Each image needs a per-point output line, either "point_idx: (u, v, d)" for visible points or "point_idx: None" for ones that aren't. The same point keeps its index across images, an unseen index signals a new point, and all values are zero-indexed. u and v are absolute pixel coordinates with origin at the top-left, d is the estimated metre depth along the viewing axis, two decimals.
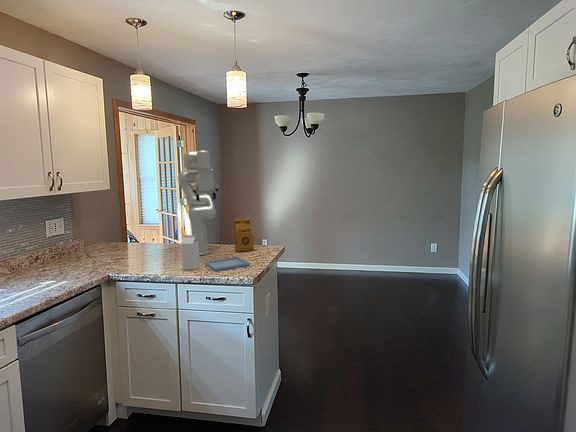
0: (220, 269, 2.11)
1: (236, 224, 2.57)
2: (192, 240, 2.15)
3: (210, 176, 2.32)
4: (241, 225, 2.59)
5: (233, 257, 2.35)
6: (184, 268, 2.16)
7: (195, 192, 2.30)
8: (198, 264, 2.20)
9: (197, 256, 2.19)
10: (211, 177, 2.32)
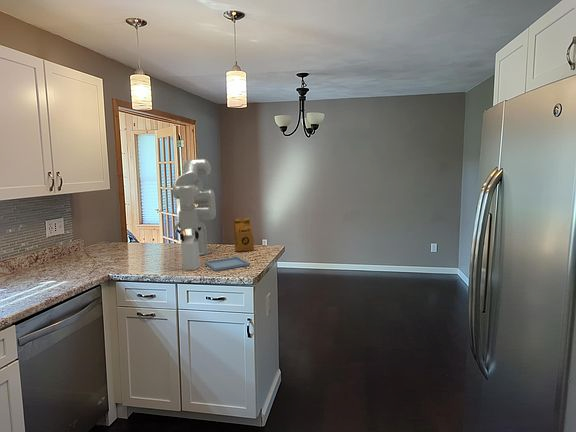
0: (220, 269, 2.11)
1: (236, 224, 2.57)
2: (192, 240, 2.15)
3: (194, 213, 2.15)
4: (241, 225, 2.59)
5: (233, 257, 2.35)
6: (184, 268, 2.16)
7: (179, 232, 2.14)
8: (198, 263, 2.20)
9: (197, 256, 2.19)
10: (195, 214, 2.15)
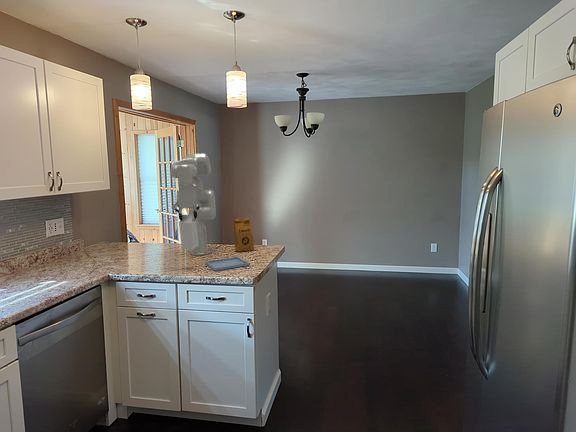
0: (220, 269, 2.11)
1: (236, 224, 2.57)
2: (190, 219, 2.14)
3: (192, 192, 2.14)
4: (241, 225, 2.59)
5: (233, 257, 2.35)
6: (183, 247, 2.16)
7: (177, 211, 2.13)
8: (197, 243, 2.20)
9: (195, 235, 2.18)
10: (193, 194, 2.14)
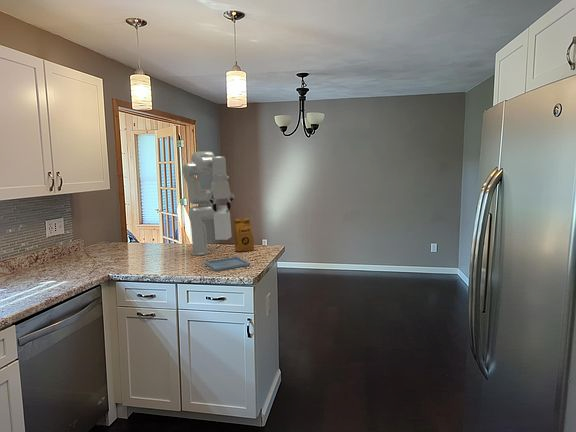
0: (220, 269, 2.11)
1: (236, 224, 2.57)
2: (224, 210, 2.17)
3: (226, 184, 2.17)
4: (241, 225, 2.59)
5: (233, 257, 2.35)
6: (216, 238, 2.19)
7: (212, 202, 2.16)
8: (230, 234, 2.23)
9: (229, 226, 2.21)
10: (227, 185, 2.18)
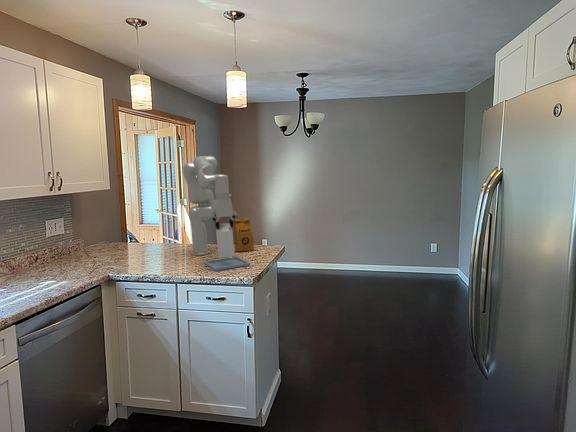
0: (220, 269, 2.11)
1: (236, 224, 2.57)
2: (227, 228, 2.18)
3: (229, 202, 2.19)
4: (241, 225, 2.59)
5: (233, 257, 2.35)
6: (219, 255, 2.20)
7: (215, 220, 2.17)
8: (233, 251, 2.24)
9: (231, 244, 2.22)
10: (230, 203, 2.19)
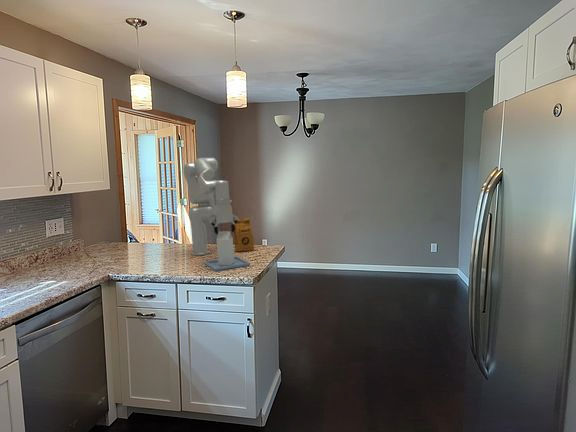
0: (220, 269, 2.11)
1: (236, 224, 2.57)
2: (227, 236, 2.19)
3: (229, 208, 2.19)
4: (241, 225, 2.59)
5: None
6: (219, 263, 2.21)
7: (213, 225, 2.17)
8: (233, 259, 2.25)
9: (232, 252, 2.23)
10: (230, 209, 2.19)
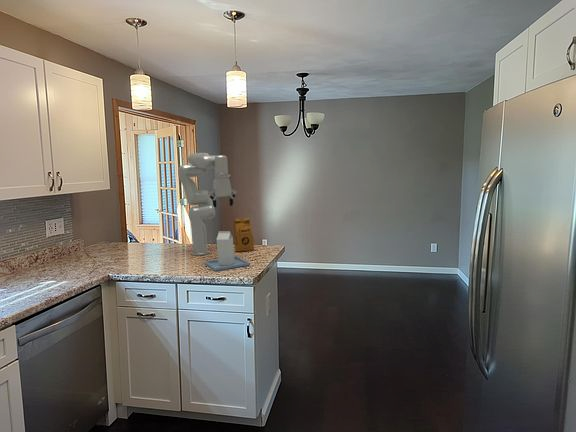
0: (220, 269, 2.11)
1: (236, 224, 2.57)
2: (227, 236, 2.19)
3: (227, 182, 2.26)
4: (241, 225, 2.59)
5: None
6: (219, 263, 2.21)
7: (212, 198, 2.25)
8: (233, 259, 2.25)
9: (232, 252, 2.23)
10: (228, 183, 2.27)
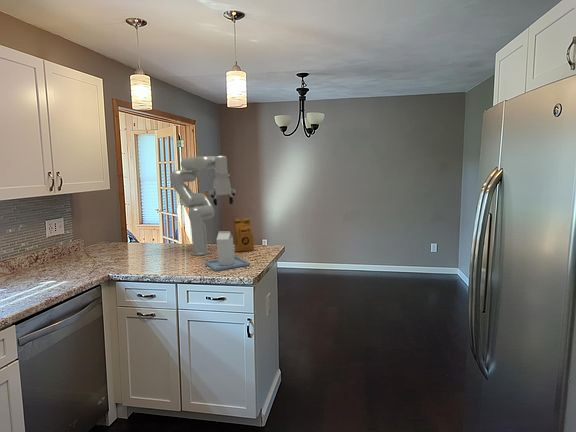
0: (220, 269, 2.11)
1: (236, 224, 2.57)
2: (227, 236, 2.19)
3: (227, 181, 2.36)
4: (241, 225, 2.59)
5: None
6: (219, 263, 2.21)
7: (213, 197, 2.34)
8: (233, 259, 2.25)
9: (232, 252, 2.23)
10: (228, 182, 2.36)
